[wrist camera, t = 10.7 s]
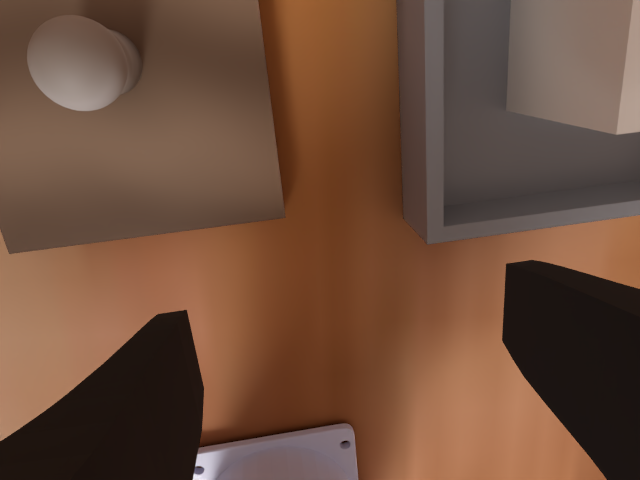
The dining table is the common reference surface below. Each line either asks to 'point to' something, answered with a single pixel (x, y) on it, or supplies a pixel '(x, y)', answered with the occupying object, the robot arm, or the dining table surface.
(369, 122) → the dining table surface
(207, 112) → the stud block
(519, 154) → the bin
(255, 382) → the dining table surface
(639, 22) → the block
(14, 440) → the robot arm
